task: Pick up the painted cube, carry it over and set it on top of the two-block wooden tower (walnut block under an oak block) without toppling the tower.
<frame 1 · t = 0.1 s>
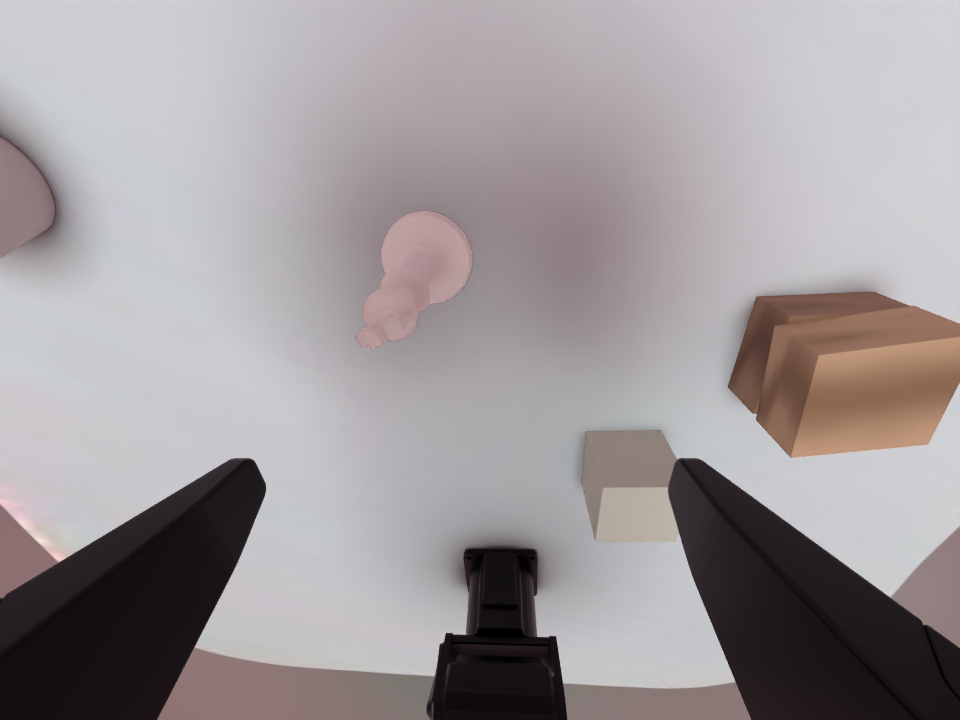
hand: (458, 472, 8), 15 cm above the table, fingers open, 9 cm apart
chess piece: (428, 257, 21), on the table
tower top: (827, 368, 19), point 3 cm above the table, touching tower base
tower base: (791, 340, 22), on the table, touching tower top
cube: (618, 456, 27), on the table
cup: (7, 184, 20), on the table
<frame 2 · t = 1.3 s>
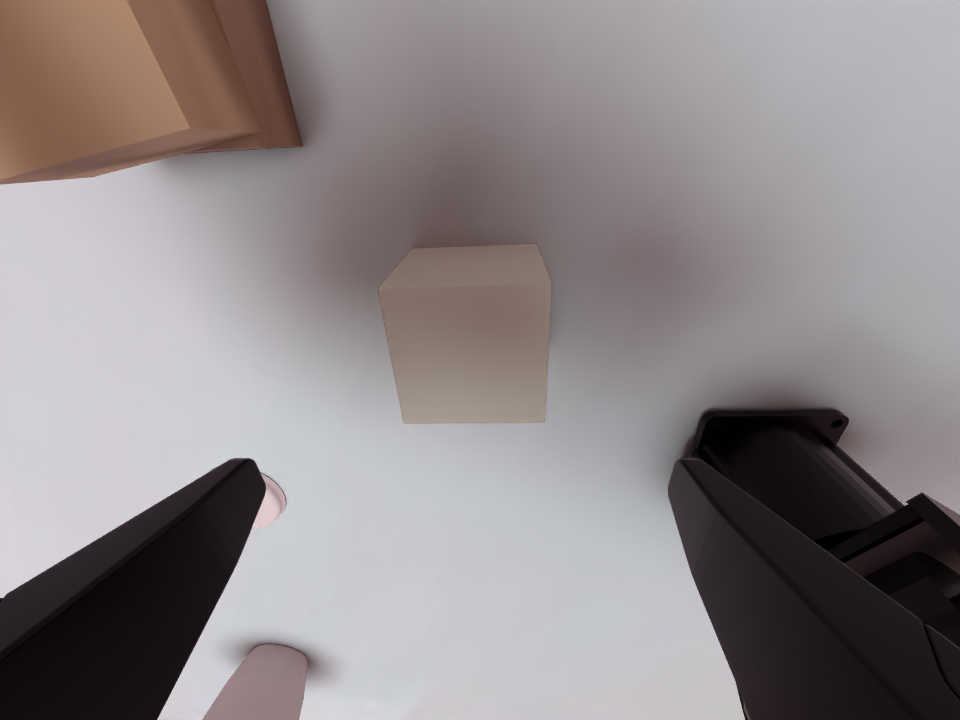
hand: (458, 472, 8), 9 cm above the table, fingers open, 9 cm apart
chess piece: (247, 491, 23), on the table
tower top: (107, 27, 10), point 3 cm above the table
tower base: (192, 47, 12), on the table
cube: (477, 304, 16), on the table
cup: (281, 654, 35), on the table
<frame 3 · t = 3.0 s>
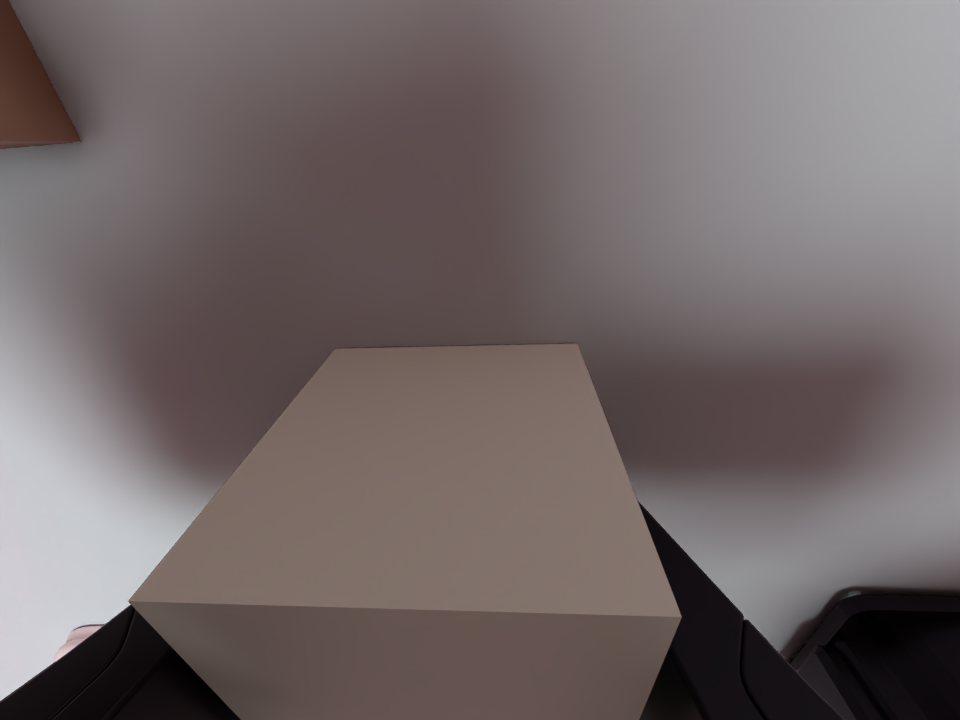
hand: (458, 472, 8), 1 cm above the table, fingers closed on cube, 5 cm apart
chess piece: (137, 648, 16), on the table
cube: (462, 439, 9), on the table, touching gripper
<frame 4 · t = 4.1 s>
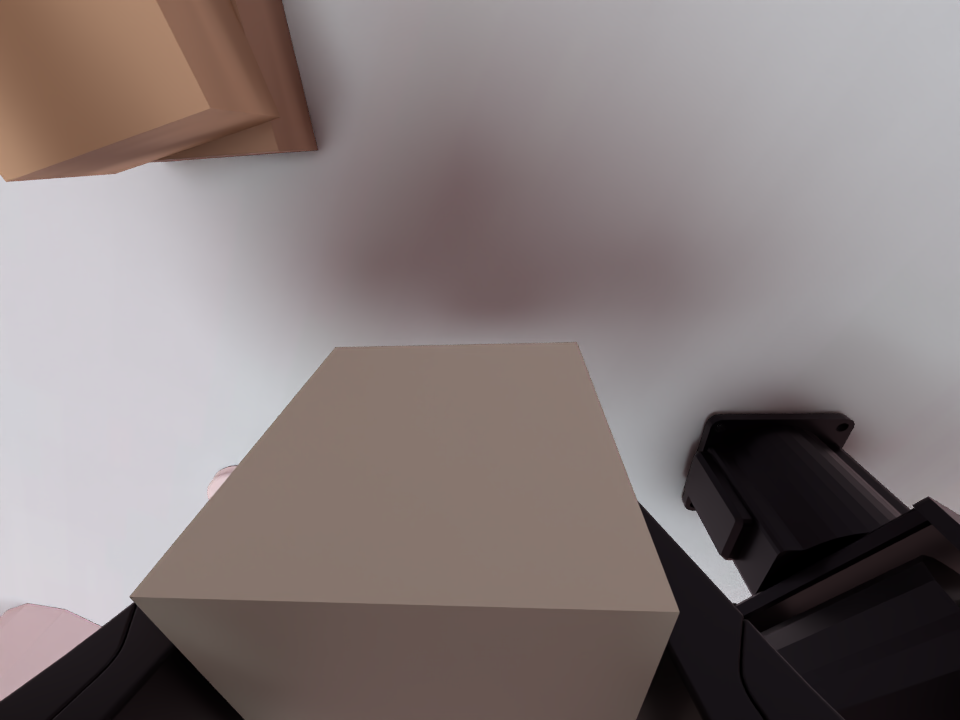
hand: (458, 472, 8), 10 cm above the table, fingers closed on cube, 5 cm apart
chess piece: (255, 491, 24), on the table
tower top: (125, 20, 10), point 3 cm above the table
tower base: (211, 55, 13), on the table
cube: (462, 437, 9), point 8 cm above the table, touching gripper
mug: (76, 635, 35), on the table
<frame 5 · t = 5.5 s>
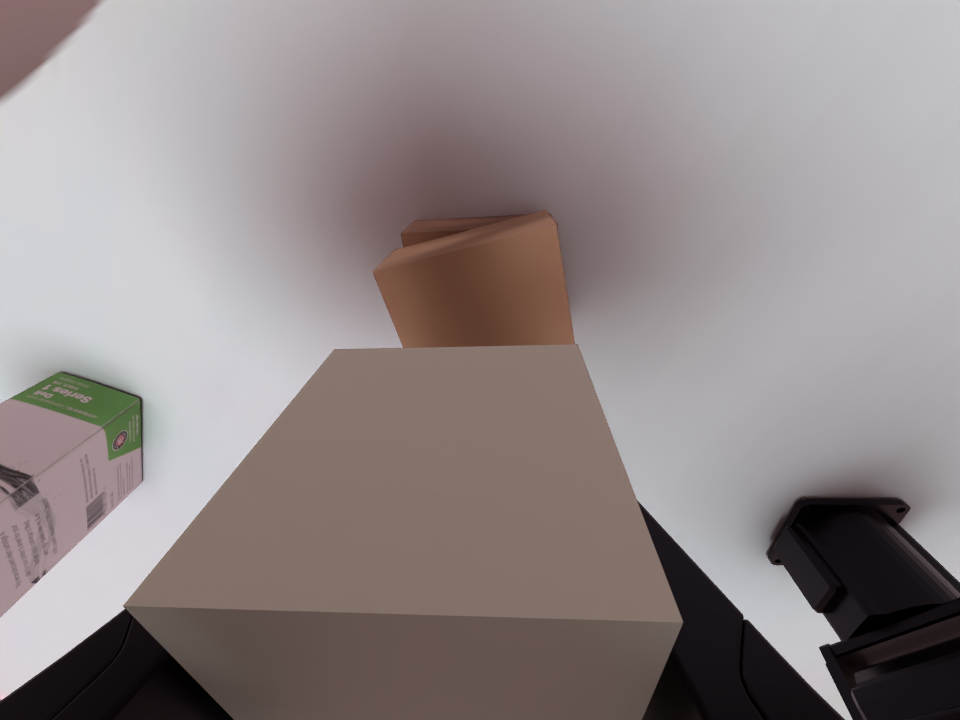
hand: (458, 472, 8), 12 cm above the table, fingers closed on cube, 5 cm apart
tower top: (487, 302, 16), point 3 cm above the table, touching tower base
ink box: (110, 430, 25), on the table
tower base: (485, 280, 18), on the table, touching tower top
cube: (462, 440, 9), point 11 cm above the table, touching gripper
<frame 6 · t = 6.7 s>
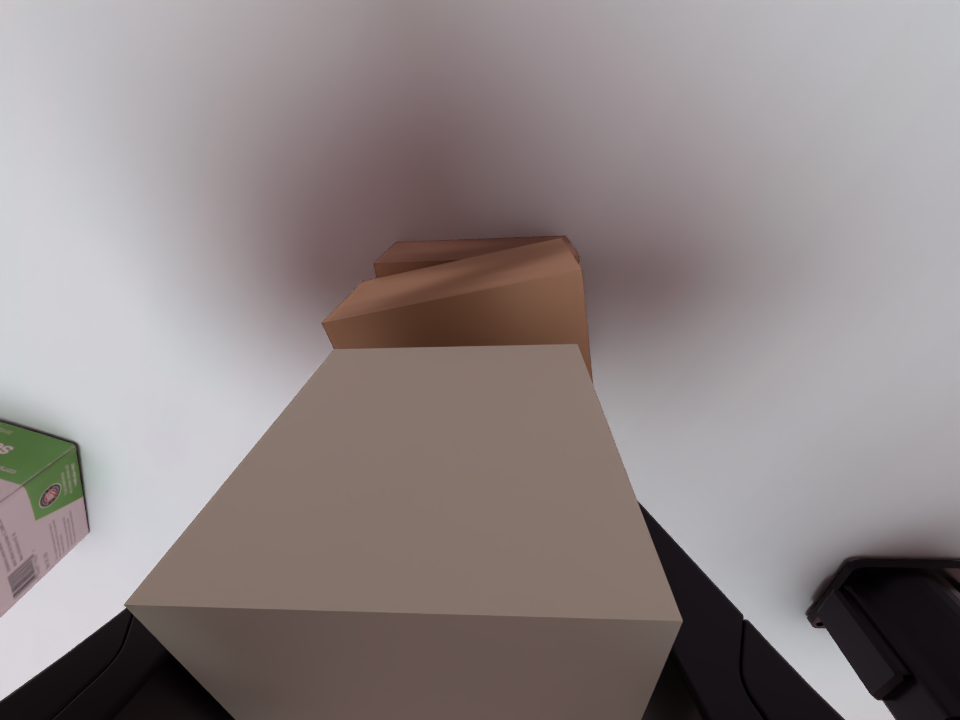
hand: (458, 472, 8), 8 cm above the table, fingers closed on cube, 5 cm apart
tower top: (480, 349, 12), point 3 cm above the table, touching tower base
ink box: (46, 477, 21), on the table
tower base: (483, 314, 15), on the table, touching tower top
cube: (462, 439, 9), point 7 cm above the table, touching gripper
when the fingers open (8 cm above the table, at t = 7.1 s): cube drops 1 cm, point 6 cm above the table.
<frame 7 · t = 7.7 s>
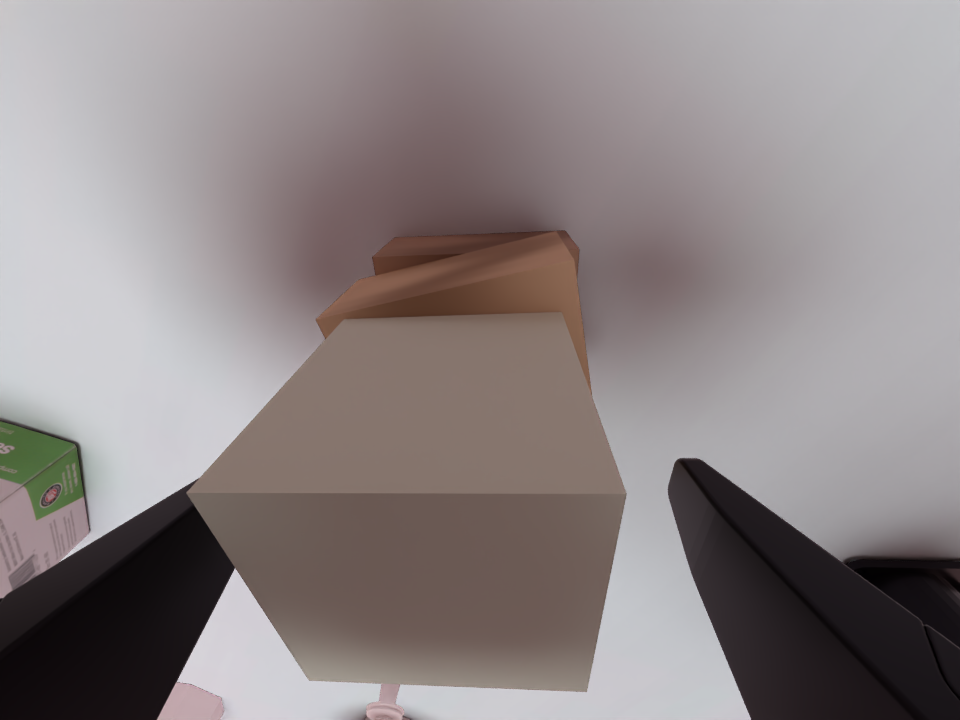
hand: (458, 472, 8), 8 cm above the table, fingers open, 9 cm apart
chess piece: (407, 601, 26), on the table
tower top: (478, 345, 12), point 3 cm above the table, touching tower base
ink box: (47, 477, 21), on the table
tower base: (482, 310, 15), on the table, touching tower top
cube: (459, 404, 10), point 6 cm above the table
mug: (192, 703, 37), on the table
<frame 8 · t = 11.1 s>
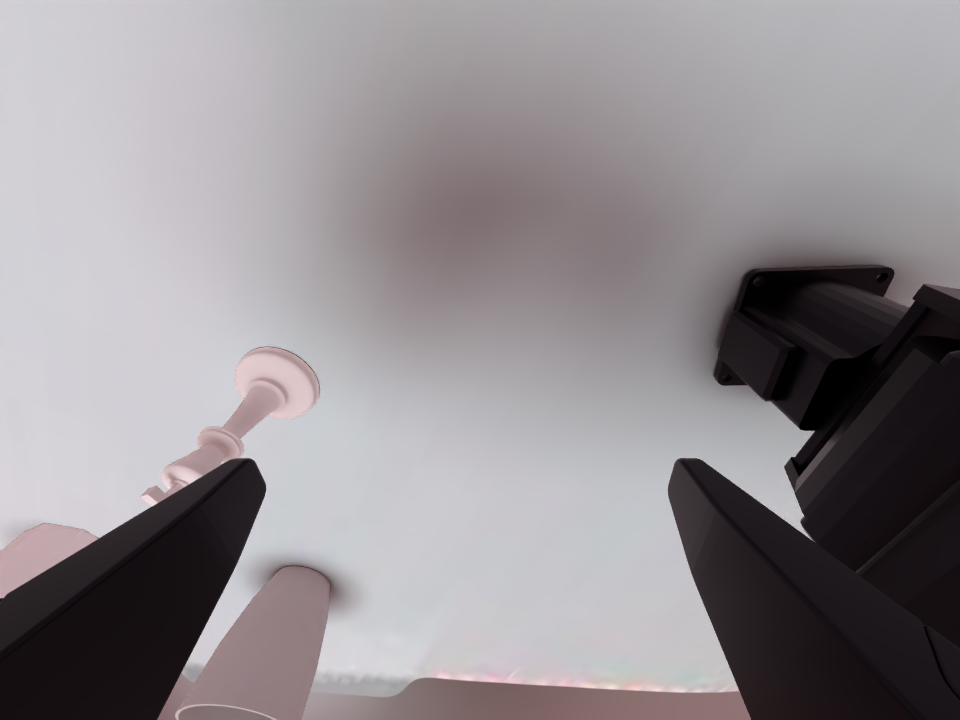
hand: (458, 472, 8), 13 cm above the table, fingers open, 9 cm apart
chess piece: (281, 380, 23), on the table
mug: (93, 562, 35), on the table
cup: (304, 579, 35), on the table
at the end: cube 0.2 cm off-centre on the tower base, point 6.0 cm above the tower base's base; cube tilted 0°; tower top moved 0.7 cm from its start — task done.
